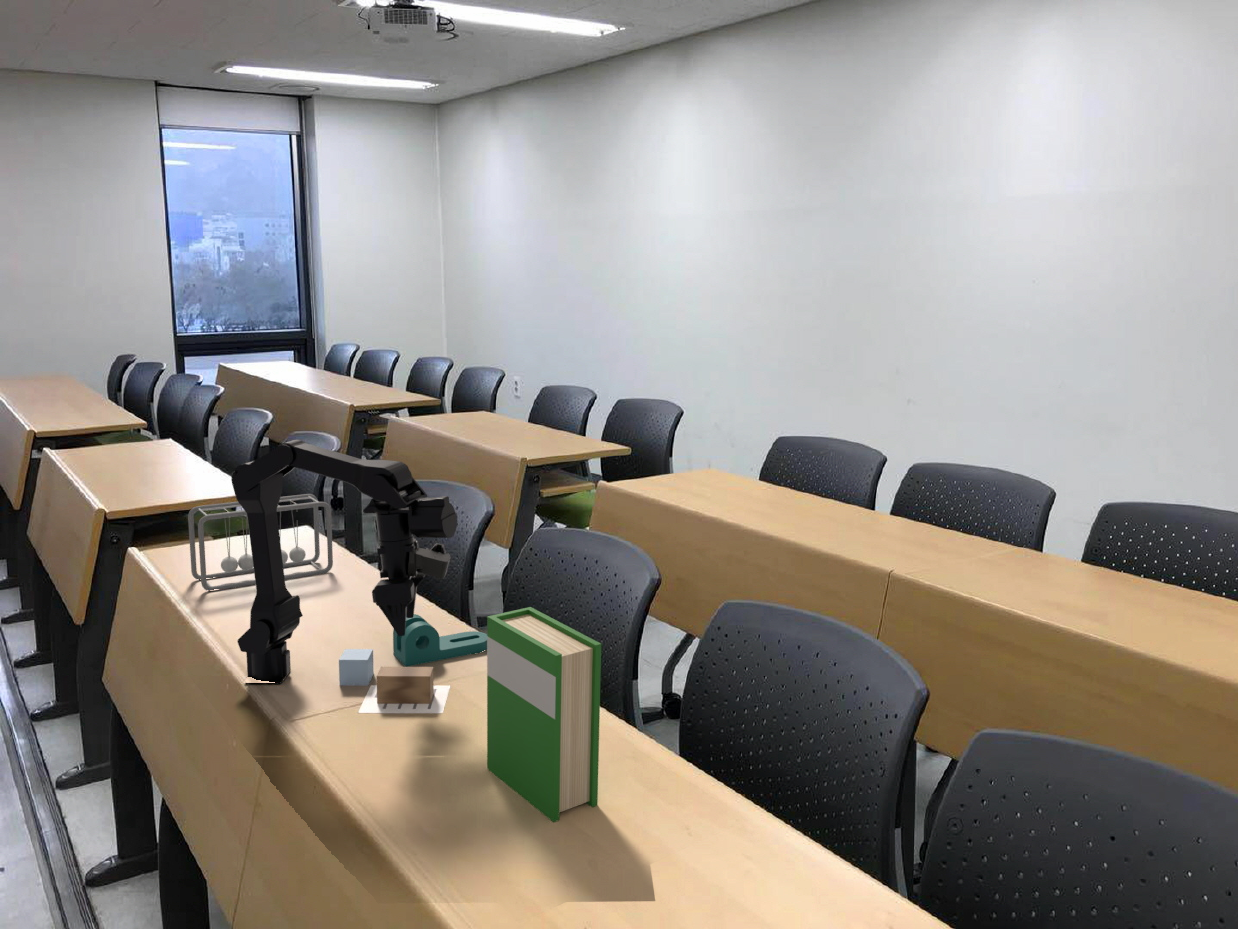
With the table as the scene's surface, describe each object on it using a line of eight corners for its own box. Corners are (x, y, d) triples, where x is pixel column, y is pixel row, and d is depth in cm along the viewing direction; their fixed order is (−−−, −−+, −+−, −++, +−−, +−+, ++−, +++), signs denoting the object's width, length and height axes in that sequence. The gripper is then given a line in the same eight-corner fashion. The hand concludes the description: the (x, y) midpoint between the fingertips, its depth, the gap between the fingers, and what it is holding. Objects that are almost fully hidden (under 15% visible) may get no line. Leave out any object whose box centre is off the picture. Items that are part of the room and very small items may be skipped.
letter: (357, 713, 164) (357, 712, 164) (371, 685, 174) (371, 685, 174) (442, 713, 164) (442, 713, 164) (450, 686, 175) (450, 685, 175)
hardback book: (597, 805, 138) (601, 643, 133) (553, 822, 133) (556, 655, 128) (529, 755, 151) (530, 606, 147) (487, 769, 147) (487, 616, 142)
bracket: (405, 668, 183) (404, 628, 181) (393, 656, 188) (392, 617, 187) (494, 651, 192) (494, 612, 190) (480, 639, 198) (480, 602, 196)
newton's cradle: (319, 561, 245) (316, 492, 242) (333, 572, 237) (331, 501, 234) (191, 581, 228) (186, 506, 225) (202, 593, 220) (197, 516, 216)
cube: (339, 686, 174) (338, 659, 173) (345, 674, 179) (345, 649, 178) (368, 686, 174) (367, 660, 173) (373, 675, 179) (373, 649, 178)
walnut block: (377, 703, 167) (376, 676, 166) (381, 693, 171) (380, 666, 170) (430, 703, 168) (430, 676, 167) (433, 693, 171) (433, 667, 171)
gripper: (437, 547, 156) (447, 641, 158) (450, 521, 174) (459, 605, 177) (366, 553, 155) (377, 647, 158) (387, 526, 174) (397, 610, 176)
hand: (406, 626), depth 167 cm, fingers open, 9 cm apart
